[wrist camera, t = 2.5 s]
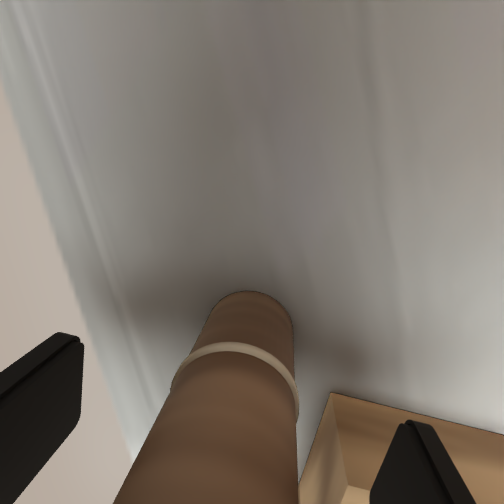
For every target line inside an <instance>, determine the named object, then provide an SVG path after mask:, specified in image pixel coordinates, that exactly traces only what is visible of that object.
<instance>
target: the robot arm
mask: <svg viewBox="0 0 504 504" xmlns="http://www.w3.org/2000/svg"><path fill="white" fill-rule="evenodd" d="M83 359H84V345H83V343H80V339H79V337H77V336H74V335H70V334H66V333H61V332H57V333H55V334H54V335H52V336H51V337H49V338H48V339H46V340H45V341H44V342H42V343H41V344H39V345H38V346H37V347H35V348H34V349H33V350H31V351H30V352H28V353H27V354H25V355H24V356H23V357H21V358H20V359H19V360H17V361H16V362H14V363H13V364H11V365H10V366H9V367H7V368H6V369H5V370H3V371H2V372H0V504H13V503H14V502H15V501H16V499H17V498H18V497H19V496H20V495H21V493H22V492H23V491H24V490H25V488H26V487H27V486H28V485H29V483H30V482H31V481H32V480H33V478H34V477H35V476H36V475H37V474H38V472H39V471H40V470H41V469H42V467H43V466H44V465H45V464H46V463H47V461H48V460H49V459H50V457H51V456H52V455H53V454H54V453H55V452H56V450H57V449H58V448H59V447H60V445H61V444H62V443H63V442H64V440H65V439H66V438H67V437H68V436H69V434H70V433H71V432H72V431H73V429H74V428H75V427H76V425H77V423H78V421H79V418H80V414H81V397H82V377H83ZM369 504H476V502H475V500H474V498H473V496H472V495H471V493H470V491H469V489H468V488H467V486H466V484H465V482H464V481H463V479H462V477H461V475H460V473H459V472H458V470H457V468H456V466H455V465H454V463H453V461H452V459H451V458H450V456H449V454H448V452H447V450H446V449H445V447H444V445H443V443H442V442H441V440H440V438H439V436H438V435H437V433H436V431H435V429H434V428H433V427H432V426H431V425H430V424H426V423H422V422H418V421H414V420H407V421H405V423H404V424H403V423H401V424H399V426H398V428H397V430H396V432H395V434H394V437H393V439H392V441H391V444H390V446H389V448H388V451H387V453H386V455H385V458H384V460H383V462H382V465H381V467H380V469H379V472H378V474H377V476H376V479H375V481H374V483H373V485H372V488H371V490H370V495H369Z"/></svg>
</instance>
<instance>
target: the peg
mask: <svg viewBox="0 0 504 504" xmlns="http://www.w3.org/2000/svg"><path fill="white" fill-rule="evenodd" d="M298 415H299V398H298V391H297V387H296V384H295V376H294V346H293V326H292V322H291V319H290V316H289V314H288V313H287V311H286V310H285V308H284V307H283V306H282V305H281V304H280V303H279V302H278V301H276V300H275V299H273V298H272V297H270V296H268V295H266V294H263V293H259V292H254V291H241V292H236V293H233V294H230V295H228V296H226V297H225V298H223V299H222V300H220V301H219V302H218V303H217V304H216V306H215V307H214V308H213V310H212V312H211V314H210V316H209V317H208V319H207V321H206V323H205V325H204V327H203V329H202V331H201V333H200V335H199V337H198V339H197V341H196V343H195V345H194V347H193V349H192V351H191V353H190V354H189V356H188V357H187V358H186V359H185V360H184V361H183V362H182V364H181V365H180V367H179V369H178V370H177V372H176V374H175V376H174V379H173V381H172V384H171V388H170V393H169V395H168V397H167V399H166V401H165V403H164V405H163V407H162V409H161V411H160V413H159V415H158V417H157V419H156V421H155V423H154V424H153V426H152V428H151V430H150V432H149V434H148V436H147V438H146V440H145V442H144V444H143V446H142V448H141V450H140V452H139V454H138V456H137V458H136V459H135V461H134V463H133V465H132V467H131V469H130V471H129V473H128V475H127V477H126V479H125V481H124V483H123V485H122V487H121V489H120V491H119V493H118V495H117V497H116V498H115V500H114V503H113V504H299V500H298V469H297V438H296V423H297V420H298Z"/></svg>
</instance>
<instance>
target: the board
mask: <svg viewBox="0 0 504 504" xmlns="http://www.w3.org/2000/svg"><path fill="white" fill-rule="evenodd" d="M407 420H414V421H418V422H422V423H426V424H430V425H431V426H432V427H433V428H434V429H435V431H436V433H437V435H438V436H439V438H440V440H441V442H442V443H443V445H444V447H445V449H446V450H447V452H448V454H449V456H450V458H451V459H452V461H453V463H454V465H455V466H456V468H457V470H458V472H459V473H460V475H461V477H462V479H463V481H464V482H465V484H466V486H467V488H468V489H469V491H470V493H471V495H472V496H473V498H474V500H475V502H476V504H504V435H500V434H496V433H492V432H488V431H484V430H480V429H476V428H472V427H468V426H464V425H460V424H456V423H452V422H448V421H444V420H440V419H436V418H432V417H428V416H424V415H420V414H416V413H412V412H408V411H404V410H400V409H396V408H392V407H388V406H384V405H380V404H376V403H372V402H368V401H364V400H360V399H356V398H352V397H348V396H344V395H340V394H335V393H330V396H329V398H328V401H327V404H326V407H325V410H324V413H323V416H322V419H321V422H320V425H319V428H318V430H317V433H316V436H315V439H314V442H313V445H312V448H311V451H310V454H309V457H308V460H307V462H306V465H305V468H304V471H303V474H302V477H301V480H300V483H299V486H298V500H299V504H369V495H370V490H371V488H372V485H373V483H374V481H375V479H376V476H377V474H378V472H379V469H380V467H381V465H382V462H383V460H384V458H385V455H386V453H387V451H388V448H389V446H390V444H391V441H392V439H393V437H394V434H395V432H396V430H397V428H398V426H399V424H401V423H403V424H404V423H405V421H407Z"/></svg>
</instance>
